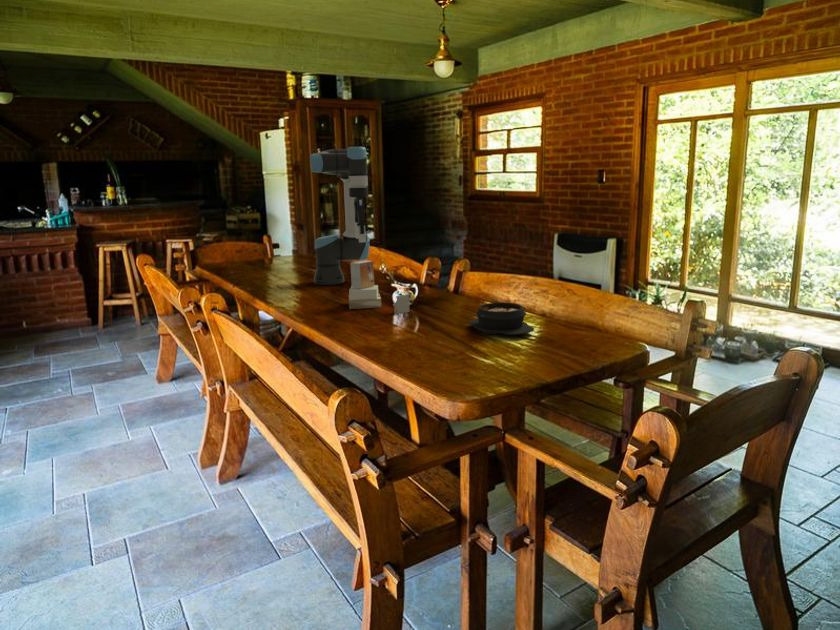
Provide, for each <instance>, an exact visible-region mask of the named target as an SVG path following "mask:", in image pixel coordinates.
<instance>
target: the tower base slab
mask: <svg viewBox="0 0 840 630" xmlns="http://www.w3.org/2000/svg"><path fill="white" fill-rule="evenodd" d="M348 308H349V310H354V309H356V310H357V309H375V308H382V297H381V294H380V293H378V297H377V299H358V300H350V295H349V294H348Z"/></svg>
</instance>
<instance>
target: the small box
mask: <svg viewBox="0 0 840 630" xmlns="http://www.w3.org/2000/svg"><path fill="white" fill-rule="evenodd" d="M349 267H350V278H351V279H350V280H351V286H352V288H358V289H362V288H367V287H372V286H374V285H375V274H374V273H375V272H374V271H375V269H374V261H373V260H367V259H366V260H359V261H352V262H350V265H349Z"/></svg>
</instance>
